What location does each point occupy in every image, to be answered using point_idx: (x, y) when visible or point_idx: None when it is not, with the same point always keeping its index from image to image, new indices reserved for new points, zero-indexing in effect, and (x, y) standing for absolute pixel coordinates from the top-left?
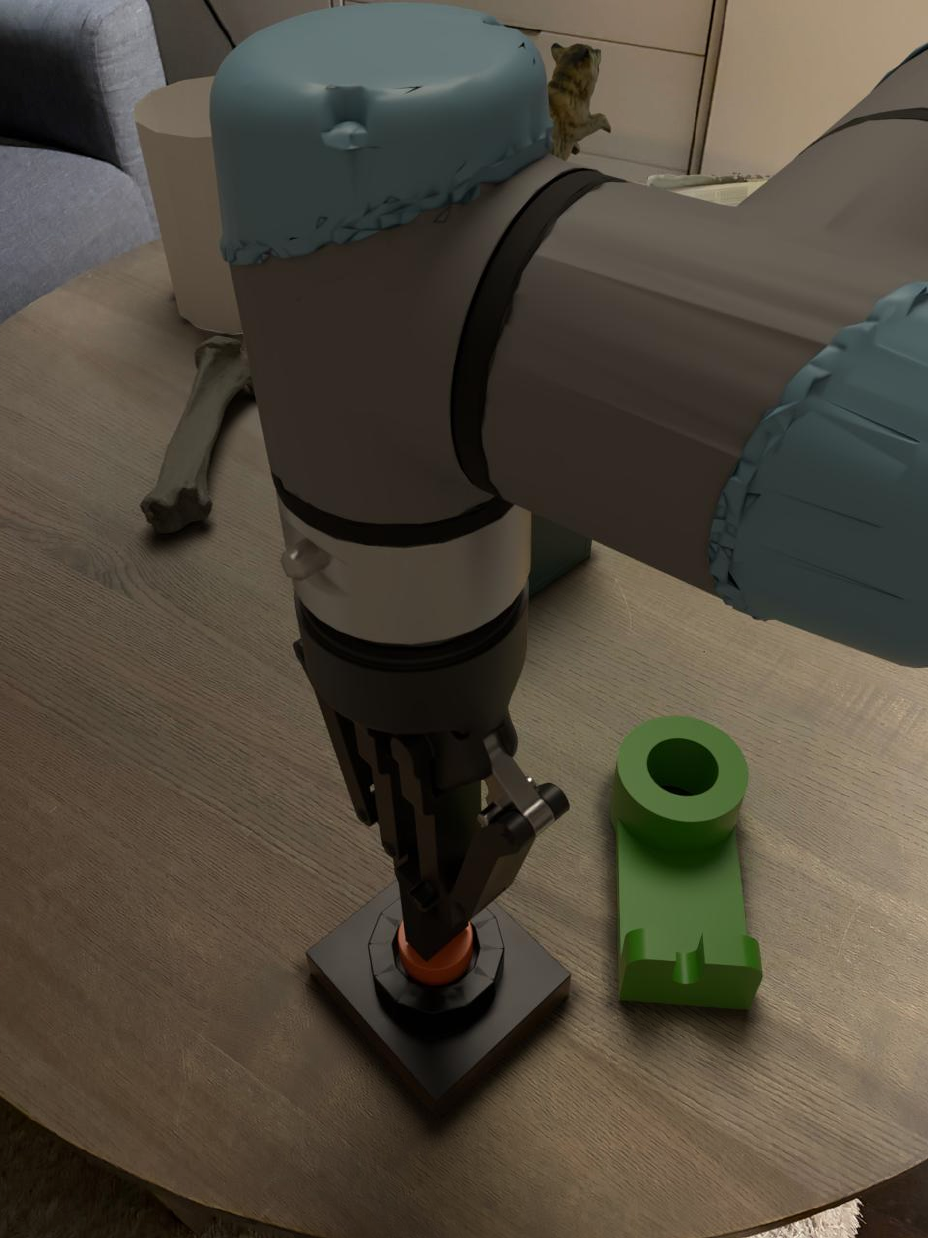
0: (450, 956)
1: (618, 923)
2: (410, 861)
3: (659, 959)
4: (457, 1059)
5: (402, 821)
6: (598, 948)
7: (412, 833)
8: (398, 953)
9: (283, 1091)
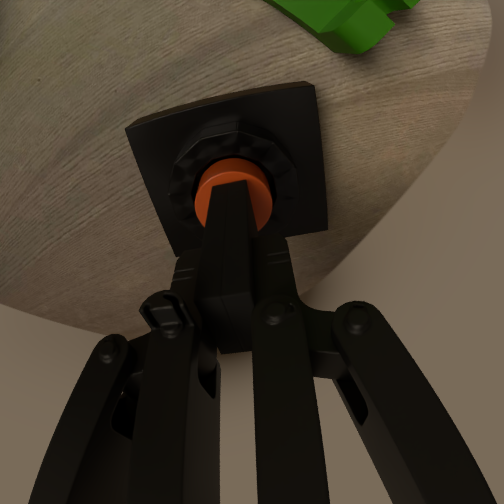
0: (262, 205)
1: (280, 8)
2: (219, 342)
3: (385, 34)
4: (313, 204)
5: (216, 442)
6: (284, 34)
7: (199, 369)
8: None
9: None
